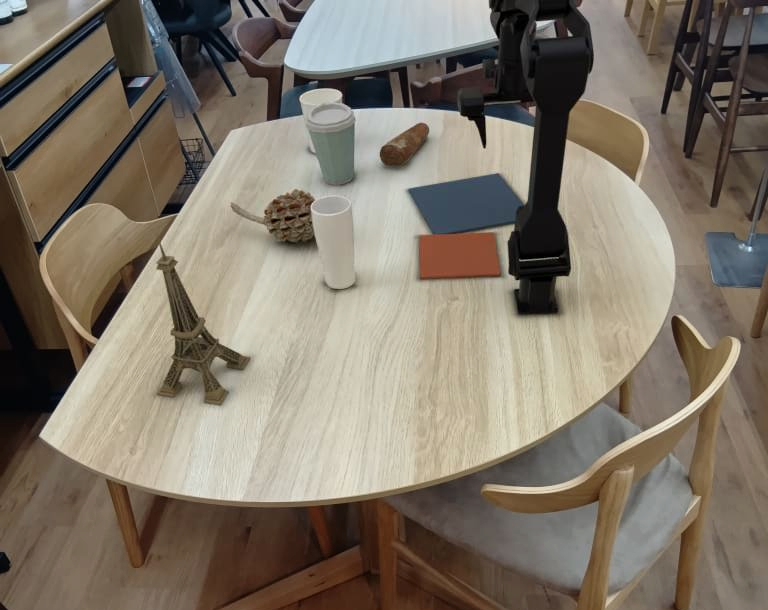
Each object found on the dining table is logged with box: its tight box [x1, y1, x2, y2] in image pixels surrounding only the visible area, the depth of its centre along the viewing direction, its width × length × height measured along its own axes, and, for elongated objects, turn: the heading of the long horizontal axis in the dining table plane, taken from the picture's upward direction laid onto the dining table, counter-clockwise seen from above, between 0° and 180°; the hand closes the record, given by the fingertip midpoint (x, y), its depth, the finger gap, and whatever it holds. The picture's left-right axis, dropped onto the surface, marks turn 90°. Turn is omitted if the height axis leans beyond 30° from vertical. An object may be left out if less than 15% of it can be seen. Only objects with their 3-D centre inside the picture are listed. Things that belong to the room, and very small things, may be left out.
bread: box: [379, 122, 430, 167], centre depth 153 cm, size 6×19×6 cm, turn 153°
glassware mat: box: [408, 172, 525, 235], centre depth 135 cm, size 20×20×1 cm
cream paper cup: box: [298, 88, 343, 154], centre depth 156 cm, size 10×10×12 cm
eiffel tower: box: [155, 231, 251, 406], centre depth 93 cm, size 11×11×25 cm
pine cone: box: [229, 188, 316, 243], centre depth 127 cm, size 22×10×10 cm, turn 73°
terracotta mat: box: [419, 231, 501, 280], centre depth 122 cm, size 14×14×1 cm
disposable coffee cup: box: [305, 102, 357, 186], centre depth 142 cm, size 11×11×15 cm
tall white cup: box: [311, 194, 356, 290], centre depth 113 cm, size 7×7×15 cm
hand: (509, 145), depth 121 cm, fingers open, 9 cm apart
